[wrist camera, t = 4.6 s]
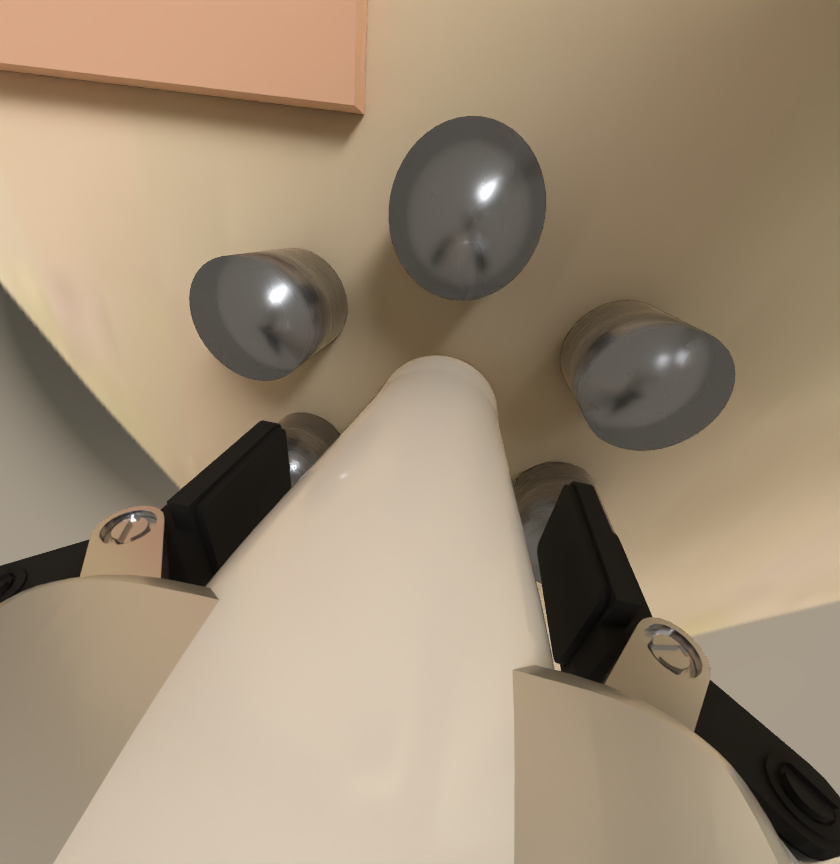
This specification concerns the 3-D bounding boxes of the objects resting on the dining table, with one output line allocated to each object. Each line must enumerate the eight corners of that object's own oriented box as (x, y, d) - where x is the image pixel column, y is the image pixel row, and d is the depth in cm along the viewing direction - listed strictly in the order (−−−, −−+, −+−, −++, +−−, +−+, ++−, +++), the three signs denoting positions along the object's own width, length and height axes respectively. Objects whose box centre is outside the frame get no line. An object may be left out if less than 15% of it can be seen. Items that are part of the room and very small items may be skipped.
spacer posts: (757, 184, 11) (884, 164, 7) (555, 573, 21) (569, 642, 17) (237, 118, 12) (138, 75, 9) (283, 514, 22) (246, 567, 19)
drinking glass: (364, 449, 18) (85, 961, 6) (374, 319, 15) (-334, 917, 2) (491, 477, 18) (504, 1100, 5) (534, 351, 14) (911, 1358, 2)
